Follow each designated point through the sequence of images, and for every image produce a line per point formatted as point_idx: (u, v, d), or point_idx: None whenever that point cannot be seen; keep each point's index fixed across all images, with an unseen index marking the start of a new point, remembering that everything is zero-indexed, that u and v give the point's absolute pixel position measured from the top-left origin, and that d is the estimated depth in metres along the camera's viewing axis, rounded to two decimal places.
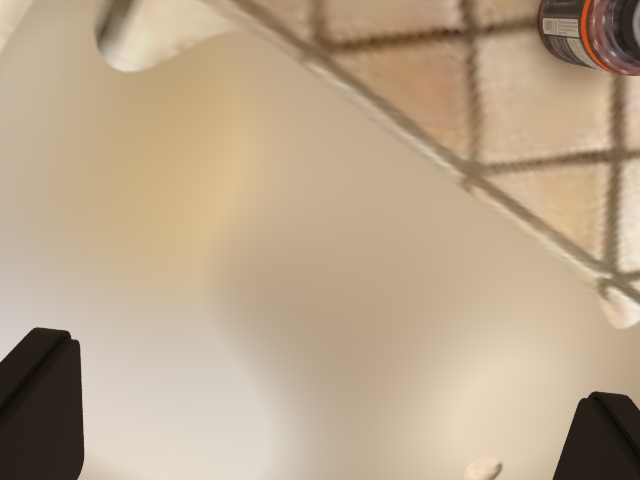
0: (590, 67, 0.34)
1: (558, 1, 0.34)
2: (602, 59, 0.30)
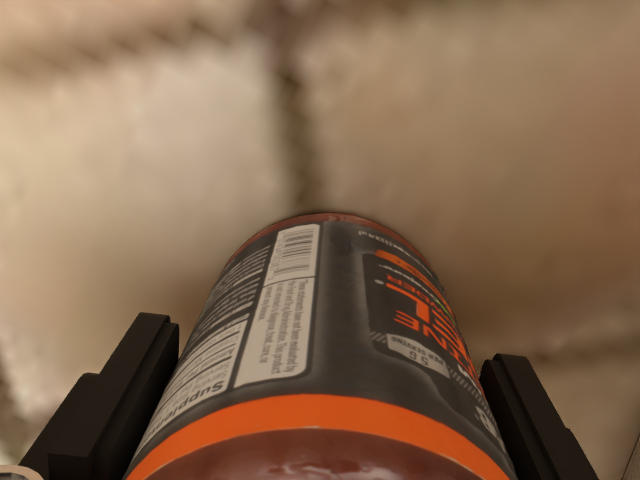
0: None
1: (366, 266, 0.11)
2: None
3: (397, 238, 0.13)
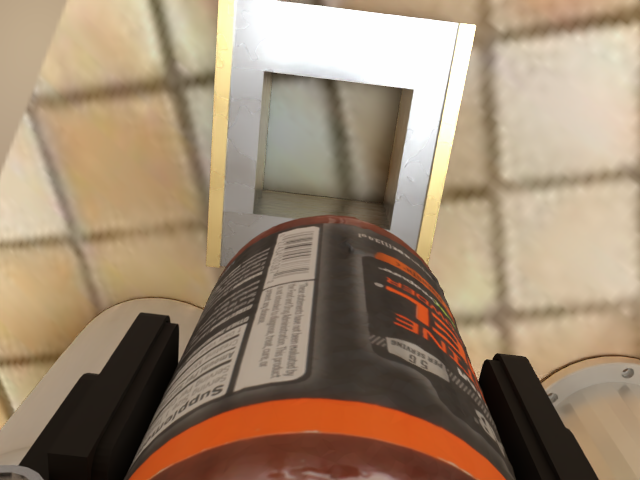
0: None
1: (366, 269, 0.11)
2: None
3: (397, 240, 0.13)
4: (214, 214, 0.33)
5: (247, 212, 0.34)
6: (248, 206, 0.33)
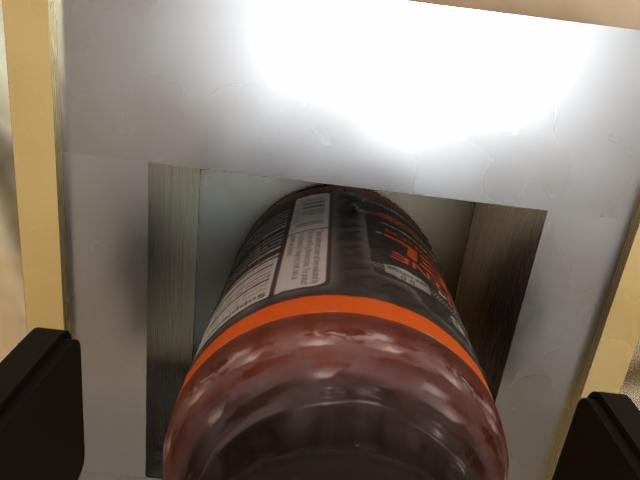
0: None
1: (368, 221, 0.13)
2: (200, 379, 0.09)
3: (393, 205, 0.16)
4: None
5: (133, 472, 0.14)
6: (133, 462, 0.14)
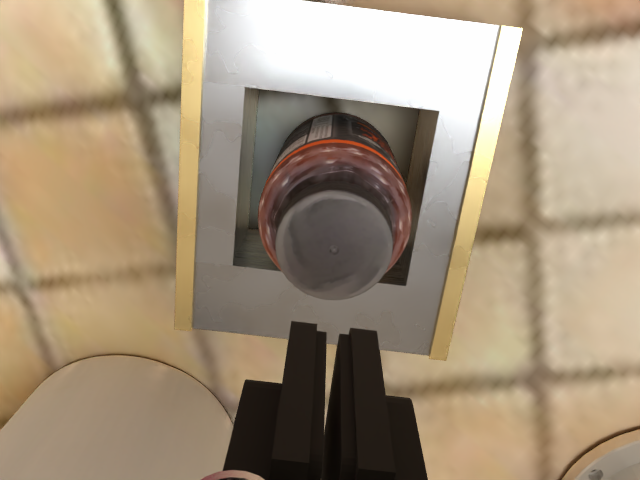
0: None
1: (352, 124, 0.26)
2: (277, 171, 0.21)
3: (368, 123, 0.28)
4: (183, 266, 0.26)
5: (225, 263, 0.27)
6: (227, 256, 0.26)
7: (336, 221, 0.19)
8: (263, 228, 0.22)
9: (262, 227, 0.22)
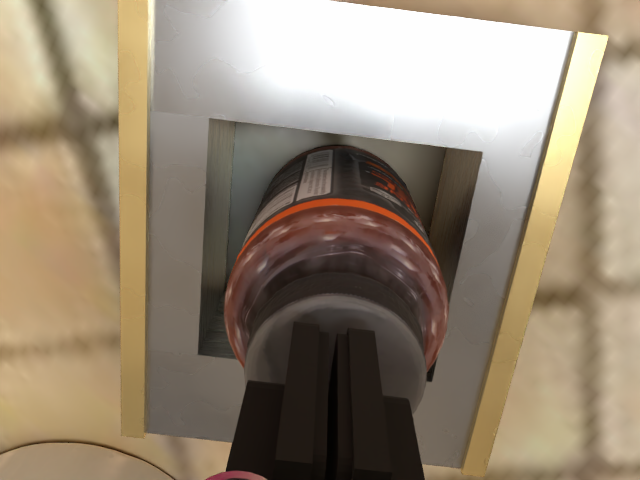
0: None
1: (360, 165, 0.19)
2: (250, 248, 0.14)
3: (380, 160, 0.21)
4: (131, 357, 0.19)
5: (188, 352, 0.20)
6: (189, 343, 0.19)
7: None
8: (231, 329, 0.15)
9: (229, 328, 0.15)
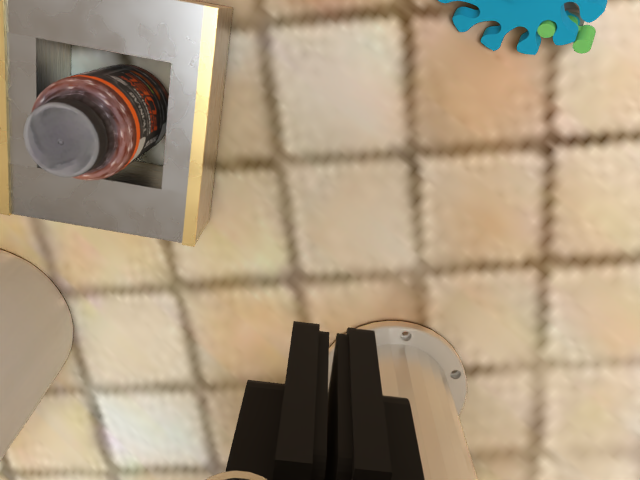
0: None
1: (122, 70, 0.36)
2: (40, 93, 0.32)
3: (148, 73, 0.39)
4: (0, 166, 0.37)
5: (32, 166, 0.37)
6: (32, 160, 0.37)
7: (60, 122, 0.30)
8: None
9: None
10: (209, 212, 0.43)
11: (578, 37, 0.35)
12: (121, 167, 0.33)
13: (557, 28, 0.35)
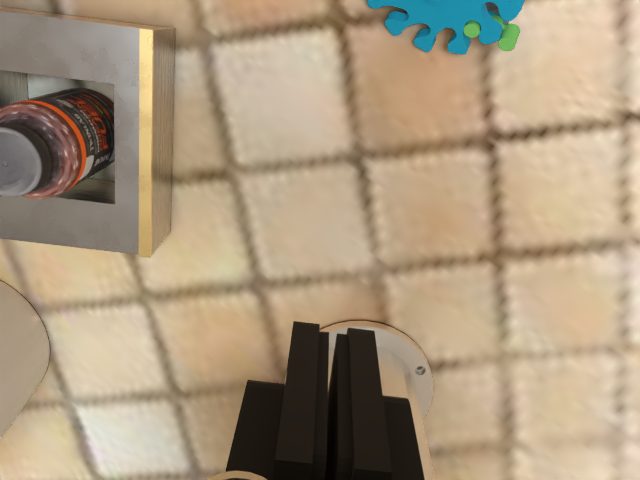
0: None
1: (71, 94, 0.38)
2: None
3: (100, 95, 0.41)
4: None
5: None
6: None
7: (3, 146, 0.32)
8: None
9: None
10: (169, 224, 0.45)
11: (502, 36, 0.36)
12: (69, 185, 0.35)
13: (481, 28, 0.36)
